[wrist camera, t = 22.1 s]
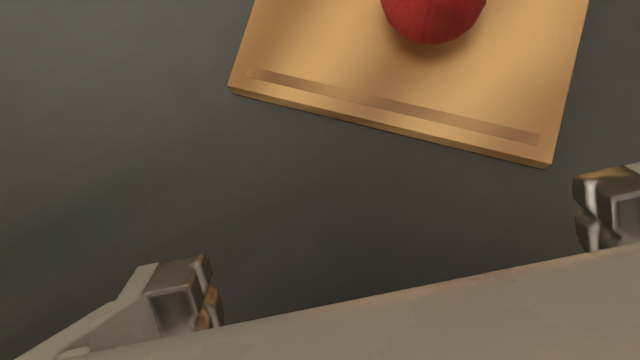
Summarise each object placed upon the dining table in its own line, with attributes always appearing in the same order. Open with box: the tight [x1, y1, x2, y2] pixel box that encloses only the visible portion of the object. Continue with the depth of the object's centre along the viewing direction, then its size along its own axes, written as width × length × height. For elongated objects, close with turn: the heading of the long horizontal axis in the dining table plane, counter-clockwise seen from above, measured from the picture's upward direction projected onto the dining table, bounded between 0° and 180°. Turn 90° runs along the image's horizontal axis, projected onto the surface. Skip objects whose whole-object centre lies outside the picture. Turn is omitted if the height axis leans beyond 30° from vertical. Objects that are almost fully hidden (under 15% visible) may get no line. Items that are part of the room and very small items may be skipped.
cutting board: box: [227, 0, 589, 169], centre depth 36 cm, size 20×14×2 cm
